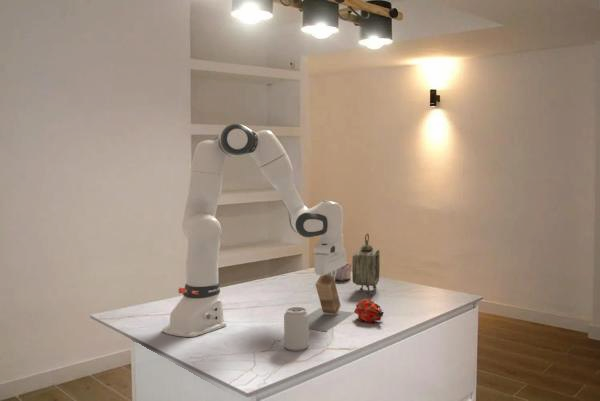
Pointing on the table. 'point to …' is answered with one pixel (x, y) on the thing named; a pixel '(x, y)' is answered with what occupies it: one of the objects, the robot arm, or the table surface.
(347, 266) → the food item
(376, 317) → the dragon fruit
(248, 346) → the table surface
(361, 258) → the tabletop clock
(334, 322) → the rubber mat
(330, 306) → the light brown wooden block
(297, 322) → the can
